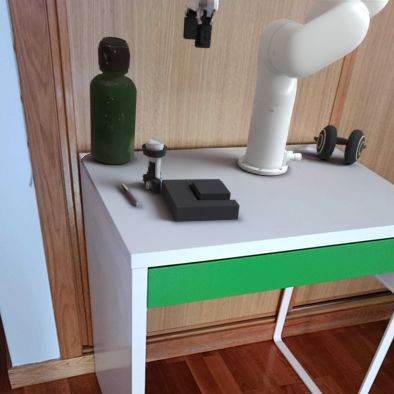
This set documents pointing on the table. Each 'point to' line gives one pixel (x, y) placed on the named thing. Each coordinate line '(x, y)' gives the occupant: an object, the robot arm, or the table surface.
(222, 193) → the small black block
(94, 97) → the green bottle
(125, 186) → the pen
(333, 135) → the black dumbbell
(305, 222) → the table surface
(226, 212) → the black u-shaped block
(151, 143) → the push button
